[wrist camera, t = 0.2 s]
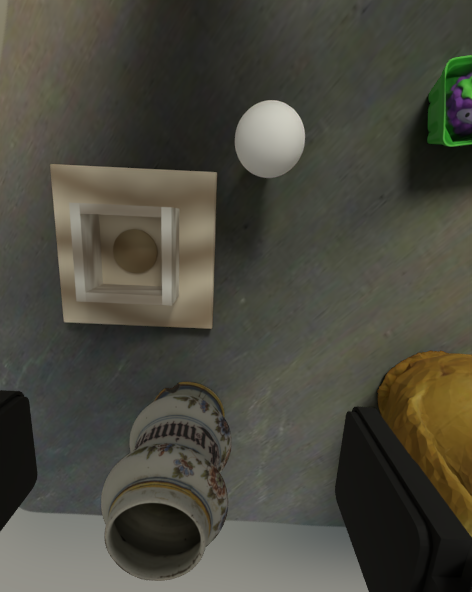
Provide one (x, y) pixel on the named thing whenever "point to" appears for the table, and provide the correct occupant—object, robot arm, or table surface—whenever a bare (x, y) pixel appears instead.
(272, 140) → the lightbulb
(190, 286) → the socket
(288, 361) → the table surface
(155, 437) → the apothecary jar
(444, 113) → the fruit basket
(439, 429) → the pitcher
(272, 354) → the table surface
